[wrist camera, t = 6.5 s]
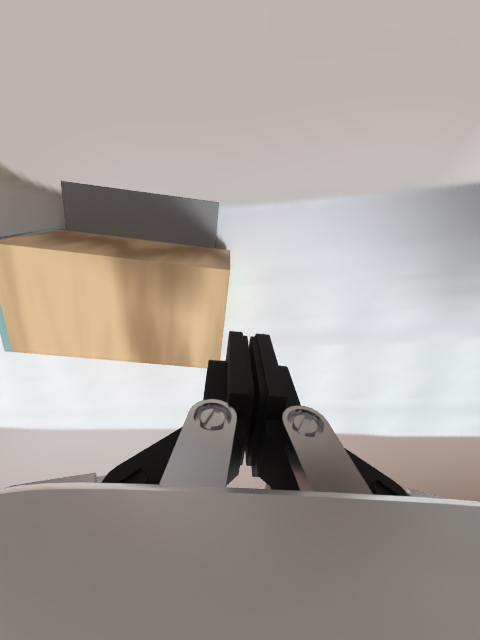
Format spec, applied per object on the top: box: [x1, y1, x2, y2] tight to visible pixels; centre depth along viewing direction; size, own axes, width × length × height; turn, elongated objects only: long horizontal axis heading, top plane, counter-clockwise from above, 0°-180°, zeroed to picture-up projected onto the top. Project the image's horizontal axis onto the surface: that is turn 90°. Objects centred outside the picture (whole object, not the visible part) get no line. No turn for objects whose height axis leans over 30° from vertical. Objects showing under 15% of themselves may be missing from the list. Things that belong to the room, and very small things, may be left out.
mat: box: [61, 181, 219, 248], centre depth 20 cm, size 10×12×1 cm
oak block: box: [0, 229, 230, 368], centre depth 17 cm, size 6×6×12 cm
